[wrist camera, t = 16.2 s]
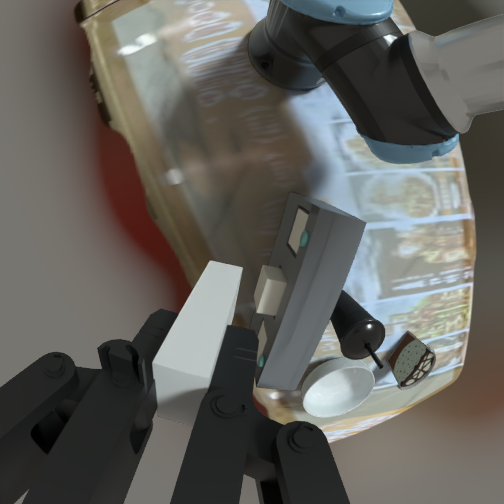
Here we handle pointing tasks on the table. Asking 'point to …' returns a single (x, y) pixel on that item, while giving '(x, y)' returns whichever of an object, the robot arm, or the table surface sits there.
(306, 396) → the cereal bowl
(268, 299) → the key middle
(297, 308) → the keypad
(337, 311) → the drinking cup
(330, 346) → the table surface
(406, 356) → the mint chip dessert
